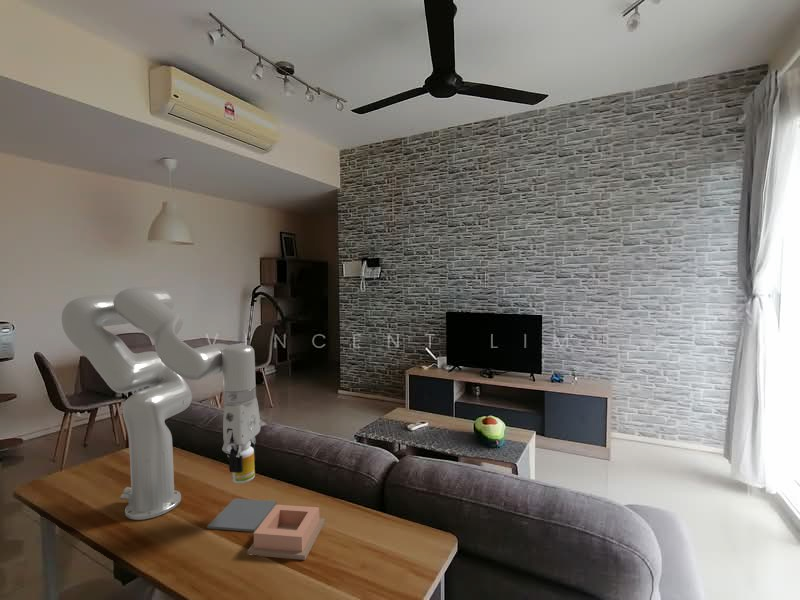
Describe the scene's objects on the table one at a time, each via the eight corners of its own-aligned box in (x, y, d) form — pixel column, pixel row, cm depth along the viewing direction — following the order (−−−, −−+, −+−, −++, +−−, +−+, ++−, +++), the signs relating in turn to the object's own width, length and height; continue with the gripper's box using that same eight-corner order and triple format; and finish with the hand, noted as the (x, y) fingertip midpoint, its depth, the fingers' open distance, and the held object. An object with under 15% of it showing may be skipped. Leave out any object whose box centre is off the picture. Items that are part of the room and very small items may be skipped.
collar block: (247, 555, 84) (246, 535, 84) (274, 518, 97) (274, 501, 97) (304, 560, 83) (304, 540, 83) (324, 522, 96) (324, 505, 95)
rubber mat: (207, 528, 94) (207, 525, 94) (234, 500, 106) (234, 498, 106) (254, 532, 92) (254, 529, 92) (276, 503, 104) (276, 501, 104)
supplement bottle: (259, 476, 99) (258, 439, 99) (241, 486, 95) (239, 447, 94) (246, 471, 102) (244, 435, 102) (227, 480, 98) (225, 442, 97)
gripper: (235, 406, 88) (238, 484, 89) (270, 386, 105) (272, 451, 106) (204, 405, 89) (208, 482, 90) (244, 385, 106) (246, 450, 107)
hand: (242, 465), depth 98 cm, fingers closed on supplement bottle, 5 cm apart
